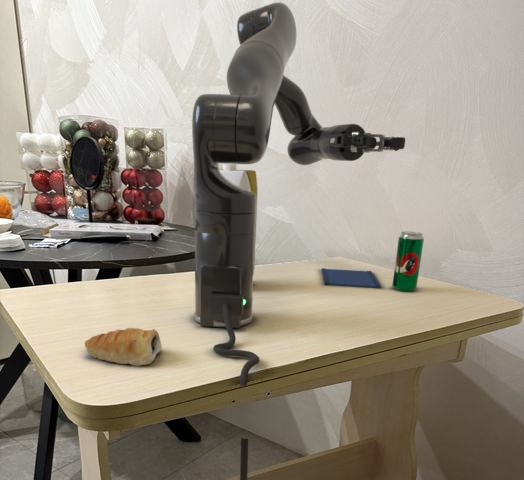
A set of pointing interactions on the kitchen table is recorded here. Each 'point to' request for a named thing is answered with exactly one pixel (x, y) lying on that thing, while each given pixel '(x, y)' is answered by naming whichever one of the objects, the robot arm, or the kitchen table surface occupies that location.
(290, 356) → the kitchen table surface
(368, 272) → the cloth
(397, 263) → the soda can
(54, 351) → the kitchen table surface
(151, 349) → the pastry
